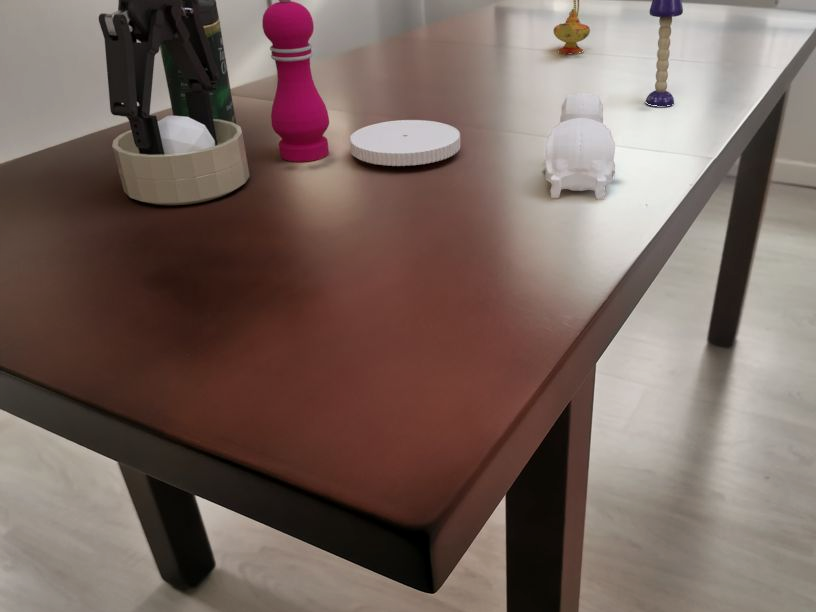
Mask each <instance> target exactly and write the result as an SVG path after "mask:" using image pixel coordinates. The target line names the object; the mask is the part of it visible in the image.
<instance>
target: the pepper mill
mask: <svg viewBox="0 0 816 612" xmlns="http://www.w3.org/2000/svg"><path fill="white" fill-rule="evenodd" d="M314 27H315V26H314V20H313V17H312V14H311V12H310V11H309V9H308V8H307V7H306V6H304V5H303V4H302V3H300V2H296V1H292V0H278V1H277V2H274V3H273V4H271V5H270V6H267V8H266V9H265V11H264V13H263V15H262V30H263V34H264V35H265V37H266V38H267V39H268V41H270V43H271V44H272V45H270V47H269V50H270V51H271V52H270V53H271V54H270V57H271V59H272V60H273V61H275V67H276V73H277V82H276V83H277V84H276V90H275V94H274V99H273V103H272V105H271V113H270V121H271V127H272V129H273V131H274V132H275V134H277V135H278V136H279V137H280V138H281V139H280V140H279V142H278V150H279V156H280V158H281V159H283V160H285V161H287V162H292V163H294V162H296V163H302V162H312V161H313V162H314V161H316V160H320V159H323V158H325V157H327V156H328V154H329V152H330V151H329V150H330V149H329V141H328V138H327V137H326V136H324V135H325V132H326V131H327V130H328V128H329V125H330V117H329V112H328V109H327V106H326V104H325V102H324V100H323V99H322V97H321V94H320V93H319V91H318V89H317V87H316V84H315V82H314V79H313V74H312V70H311V58H313V55H314V53H313V52H312V48H313V45H312V44H311V43H310V42H309V41H310V39H311V37H312V36H313V33H314V29H315V28H314Z"/></svg>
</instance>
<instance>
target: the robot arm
mask: <svg viewBox="0 0 816 612" xmlns="http://www.w3.org/2000/svg"><path fill="white" fill-rule="evenodd" d="M117 3H118V4H117V10H116V11H114V12H111V13H102V12H101V13H100V14H99V15H98V24H99V26H100V29H101V32H102V35H103V38H104V48H105V49H104V51H105V61H106V72H107V74H106V75H107V86H108V87H107V88H108V96H109V97H108V100H109V110H110V113H111V115H113V116H116V117H117V116H118V117H125V118H127V119H128V122H129V126H130V130H131V131H132V134H133V138H134V143H135V145H136V147H137V148H138V149H139V154H147V155H165V154H164V150H163V145H162V140H161V136H160V131H159V127H158V119H157V115H152V114H150V113H151V103H152V92H153V81H154V80H153V79H154V68H155V57H156V55H157V54H158V53H159V52H160V43H164V44H165V46H166V48H167V49H168V51H169V53H170V55H171V56H172V58H173V60H174V62H175V64H176V65H177V67H178V69H179V71H180V72H181V74H182V76H183V78H184V80H185V81H186V83H187V85H188V87H189V88H190V89H192V90H193V91H187V92H185V97H186V102H187V107H188V112H189V117H190V118H191V119H193V120H195V121H197V122H199V123H201V124H203V125H205V126H206V128H207V130H208V131H209V133H210V134H211V136H212V137H213V139H214V140H215V146H216V145H218V144H217V138H216V133H215V127H214V122H213V110H212V104H211V99H210V93H209V91H216V90H217V83H216V82H213V81H218V80H219V73H218V70H217V67H216V64H215V61H214V58H213V55H212V51H211V48H210V45H209V42H208V39H207V36H206V33H205V30H204V27H203V23H202V20H201V17H200V10H199V1H198V0H118V2H117ZM204 68H207V70H204Z"/></svg>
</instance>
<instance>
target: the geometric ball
mask: <svg viewBox="0 0 816 612" xmlns="http://www.w3.org/2000/svg"><path fill="white" fill-rule="evenodd" d="M157 122H158V127H159V131H160V136H161V140H162V145H163V150H164V154H165V155H166V154H177V153H186V152H192V151H197V150H202V149H207V148H210V147H213V146H215V140H214V139H213V137H212V136H211V134H210V133H209V131H208V130H207V128H206V126H205V125H203V124H201V123H199V122H197V121H195V120H193V119H191V118H189V117H184V116H173V115H167V116H165V117H163V118H162V119H159V120H157Z"/></svg>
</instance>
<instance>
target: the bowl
mask: <svg viewBox="0 0 816 612" xmlns="http://www.w3.org/2000/svg"><path fill="white" fill-rule="evenodd" d="M213 122H214V127H215V133H216V138H217V144H218V145H216V146H213V147H210V148H207V149H202V150H197V151H192V152H186V153H177V154H166V155H147V154H139V149H138V148H137V147H136V145H135V143H134V138H133V134H132V131H131V129H129V130H127V131H125V132H123V133H120V134H119V135H118V136H116V138H114V139H113V140H112V146H111V147H112V150H113V155H114V159H115V163H116V166H117V169H118V170H117V171H118V174H119V178H120V182H121V185H122V190H123V192H124V194H126V195H127V196H128V198H130V199H133V200H136V201H139V202H140V203H141V202H142V203H147V204H150V205H158V206H185V205H192V204H193V205H194V204H199V203H204V202H208V201H211V200H215V199H218V198H222V197H224V196H226V195H229V194H230V193H232V192H234V191H235V190H237V189H239V188H240V187H242V186H243V185H245V184H246V183H247V181H248V179H249V178H250V170H249V164H248V157H247V151H246V146H245V140H244V135H243V130H242V127H241V126H240V125H238V124H237V123H236V124H235V123H233V122H229V121H225V120H220V119H213Z"/></svg>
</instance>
